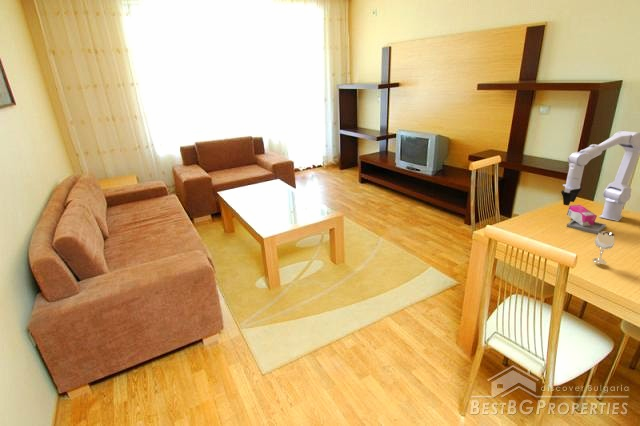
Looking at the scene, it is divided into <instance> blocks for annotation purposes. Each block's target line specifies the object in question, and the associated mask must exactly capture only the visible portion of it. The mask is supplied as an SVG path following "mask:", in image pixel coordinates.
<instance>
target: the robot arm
mask: <svg viewBox="0 0 640 426" xmlns="http://www.w3.org/2000/svg"><path fill="white" fill-rule="evenodd" d="M617 145H619V146H620V147H622V149H624V153H623V157H622V159H621V162H620V164H619V167H618V170H617V173H616V175H615V178H614V181H612V182H610V183H608V184H607V186H606V188H604V191H603V192H602V195H603V197H604V200H605V201H604V206H603V210H602V214H600V215H599V216H598V218H601V219H604V220H611V221H616V222H619V221H620V220H621V219H623V217H624V215H622V214H623V213H622V212H623V208H624V204H626V203H627V202H628V201H629V200H630V198H631V196H632V195H631V192H632V187H630V185H629V182H630V179H631V177H632V175H633V172H634V169H635V167H636V164H637V161H638V159H639V157H640V132H639V131H637V132H636V131H627V130H618V131H617V132H615V133H614V134H613V135H612V136H610V137H609V138H607V139H605V140H604V141H603V142H601V143H599V144H595V143H594V144H593V143H592V144H590V145H589V146H588V147H586V148H584V149H581V150H580V151H574V152H572V153H571V154H570V155H569V156H568V158H567V162H568V172H567V176H566V182H565V184H562V186H563V187H564V189H563V190H561V191H560V193H561V197H562V204H563V206H570V204H571V203H574V202H575V201H576V200H577V197H578V195H579V193H580V192H581V191H582V188H581V183H582V180H583V179H582V177H583V173H584V170H585V166H586V165H588V163H589V162H590V161H591V160H593V159H594V158H596V157H598V156H601V155H602V154H603V151H606V150H608V149H610V148H612V147H615V146H617Z"/></svg>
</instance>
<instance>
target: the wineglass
mask: <svg viewBox="0 0 640 426" xmlns="http://www.w3.org/2000/svg"><path fill="white" fill-rule="evenodd" d="M594 243H595V246H596V247H597V248H599V249H600V253H599V257H598V258H597V257H596V258H595V257H594V258H592V262H595V263H597V264H600V265H601V264H603V265H604V264H607V261H606V260H605V259H602V255H603V253H604V251H605V250H610V249H612V248H613V247H614V245H615V234H614V233H613V232H609V231H603V230H602V231H601V232H599V233H598V234H596V237H595V239H594Z"/></svg>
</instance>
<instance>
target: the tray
mask: <svg viewBox="0 0 640 426" xmlns="http://www.w3.org/2000/svg"><path fill="white" fill-rule="evenodd" d="M606 225H607V224H606V223H602V222H596V221H595V222H594V225H590V226H581V225H580V224H579V223H577V222H576V221H574V220H573V219H571V221H569V222H568V223H567V224H566V228H570V229H574V230H577V231H583V232H586V233H591V234H594V235H595V234H596V235H598V233H599V232H602V231H603V230H604V229H605V228H606Z"/></svg>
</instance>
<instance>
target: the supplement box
mask: <svg viewBox="0 0 640 426" xmlns="http://www.w3.org/2000/svg"><path fill="white" fill-rule="evenodd" d="M566 216H568V217H569V218H570V219H571V220H574V221H576V222H577V223H579V224H580V225H581V226H590V225H594V222H596V219H597V216H598V215H597V214H595V213H594V212H592V211H591V210H590V209H588V208H586V207H584V206H583V205H581V204H576V205H575V204H574V205H569V207H568V211H567V213H566Z"/></svg>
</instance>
